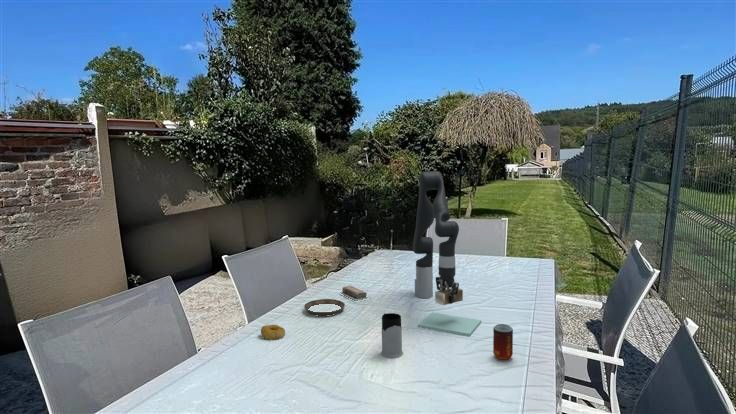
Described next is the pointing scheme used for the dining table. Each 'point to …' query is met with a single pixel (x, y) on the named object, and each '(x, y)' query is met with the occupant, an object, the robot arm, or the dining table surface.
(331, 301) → the plant saucer
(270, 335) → the bagel
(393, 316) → the glass holder
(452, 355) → the dining table surface
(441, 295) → the brown tall square block
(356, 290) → the packaged product
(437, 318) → the sage board
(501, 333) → the soda can
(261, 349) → the dining table surface
